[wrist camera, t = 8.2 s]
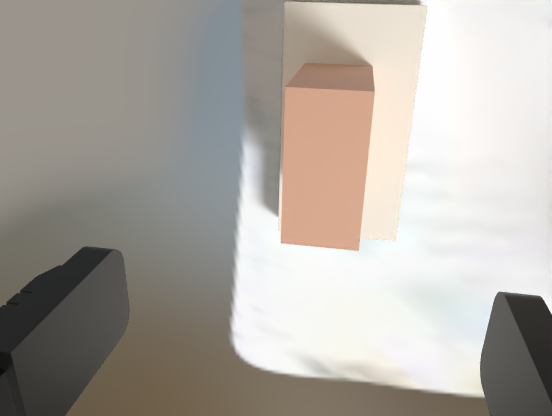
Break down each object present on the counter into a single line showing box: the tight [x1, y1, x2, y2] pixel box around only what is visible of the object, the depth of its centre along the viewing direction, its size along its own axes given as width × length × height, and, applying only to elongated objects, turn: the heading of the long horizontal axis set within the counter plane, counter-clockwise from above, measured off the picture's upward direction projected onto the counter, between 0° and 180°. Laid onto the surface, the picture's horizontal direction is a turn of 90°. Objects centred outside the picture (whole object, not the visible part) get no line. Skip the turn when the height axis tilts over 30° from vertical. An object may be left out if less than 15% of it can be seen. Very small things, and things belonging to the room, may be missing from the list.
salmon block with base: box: [278, 1, 428, 251], centre depth 21 cm, size 6×11×7 cm, turn 179°
